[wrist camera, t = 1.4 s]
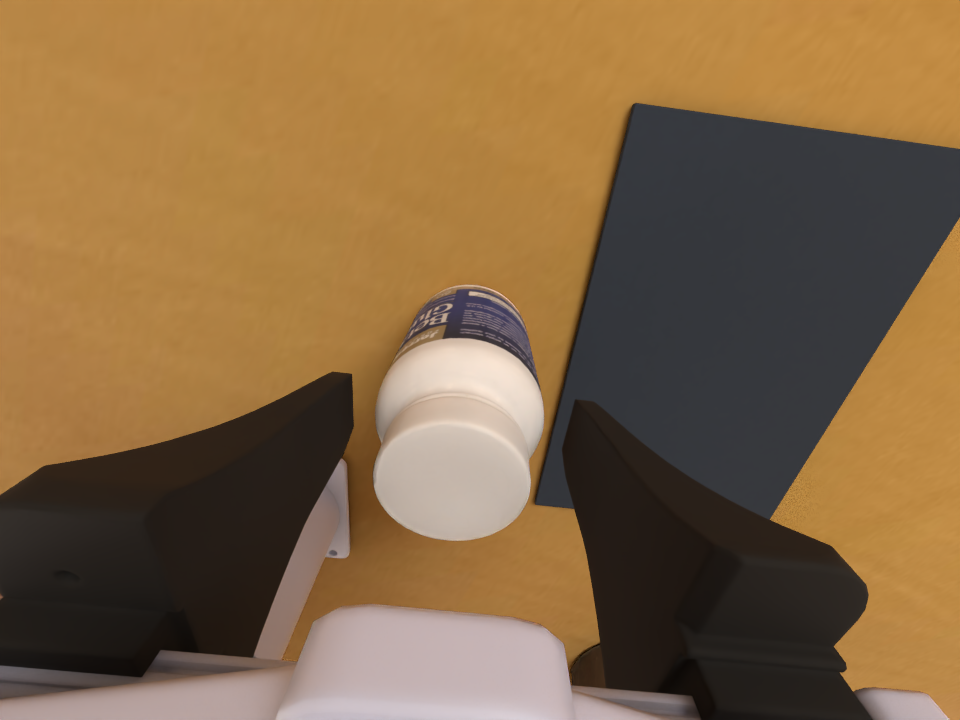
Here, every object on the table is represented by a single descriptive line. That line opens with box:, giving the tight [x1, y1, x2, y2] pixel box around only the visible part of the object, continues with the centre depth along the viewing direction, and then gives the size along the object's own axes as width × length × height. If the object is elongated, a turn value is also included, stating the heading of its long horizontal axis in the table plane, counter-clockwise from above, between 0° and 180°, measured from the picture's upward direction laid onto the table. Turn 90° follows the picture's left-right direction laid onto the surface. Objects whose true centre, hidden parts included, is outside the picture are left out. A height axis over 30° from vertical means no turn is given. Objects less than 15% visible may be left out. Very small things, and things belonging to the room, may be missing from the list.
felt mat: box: [535, 103, 960, 519], centre depth 19 cm, size 14×20×1 cm
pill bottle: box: [373, 285, 544, 541], centre depth 14 cm, size 5×5×10 cm
